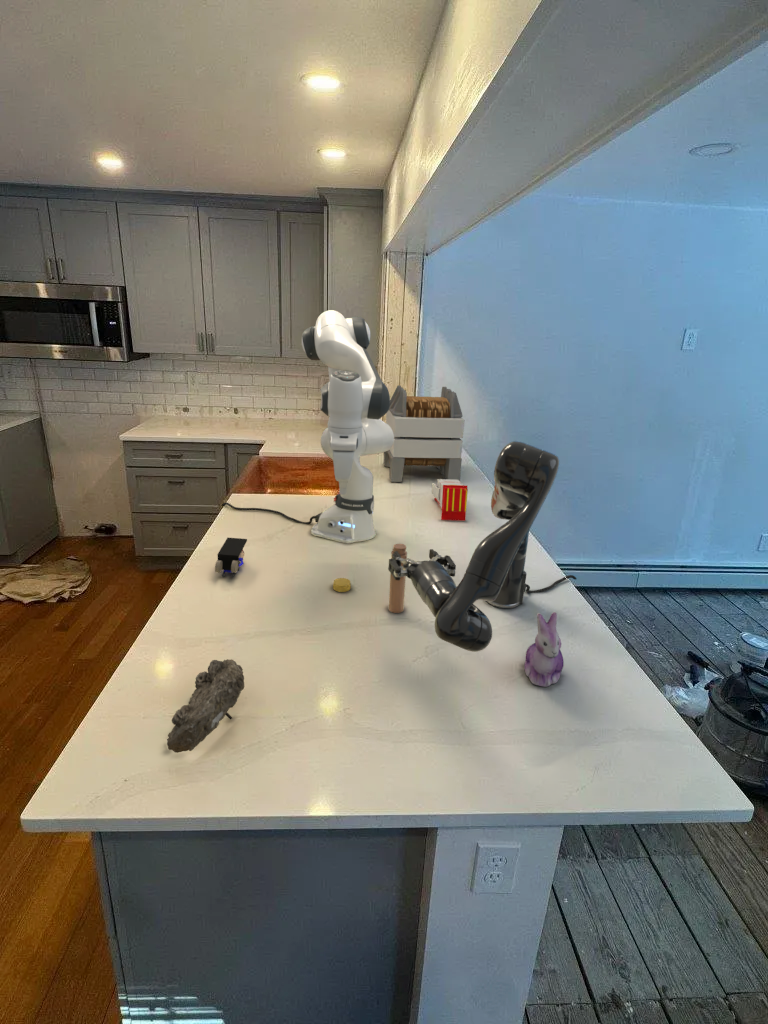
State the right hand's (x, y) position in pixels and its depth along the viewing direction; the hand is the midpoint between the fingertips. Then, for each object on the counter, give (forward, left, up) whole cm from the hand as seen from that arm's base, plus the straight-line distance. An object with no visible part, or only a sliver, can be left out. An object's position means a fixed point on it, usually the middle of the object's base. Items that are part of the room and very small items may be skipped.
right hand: (413, 553), depth 132 cm
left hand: (+12, -26, +8) cm, 30 cm away
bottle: (0, -12, -21) cm, 24 cm away
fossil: (+45, +23, -21) cm, 55 cm away
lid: (+12, -26, -20) cm, 34 cm away
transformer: (-44, -138, -21) cm, 146 cm away
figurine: (-25, +22, -21) cm, 39 cm away
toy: (-41, -86, -21) cm, 98 cm away
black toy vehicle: (+42, -42, -21) cm, 63 cm away
